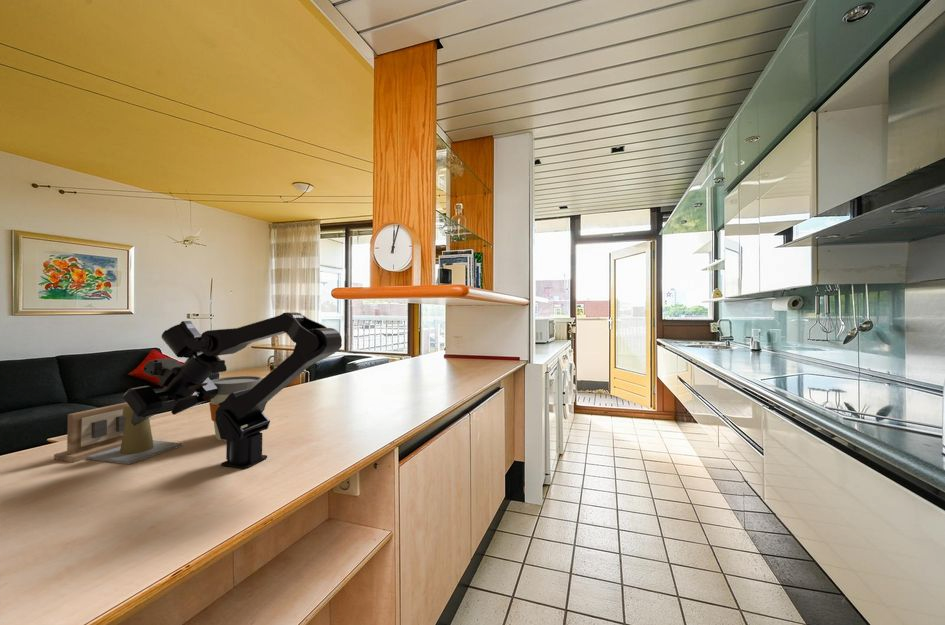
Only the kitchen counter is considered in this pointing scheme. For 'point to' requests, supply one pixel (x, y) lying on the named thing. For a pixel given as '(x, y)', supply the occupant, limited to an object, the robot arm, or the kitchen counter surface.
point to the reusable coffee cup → (229, 392)
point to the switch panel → (93, 432)
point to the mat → (116, 457)
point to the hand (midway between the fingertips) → (154, 418)
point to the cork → (135, 435)
